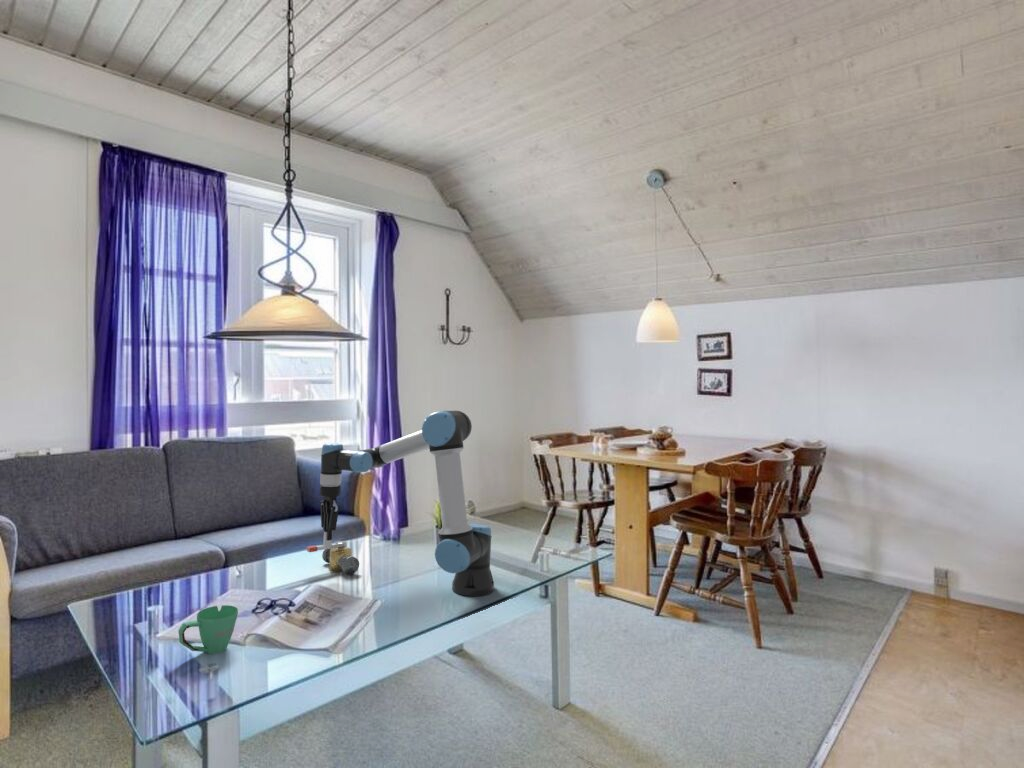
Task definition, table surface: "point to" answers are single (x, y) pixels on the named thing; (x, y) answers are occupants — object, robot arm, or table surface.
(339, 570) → the valve body
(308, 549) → the lever
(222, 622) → the mug
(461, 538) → the robot arm
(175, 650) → the table surface
